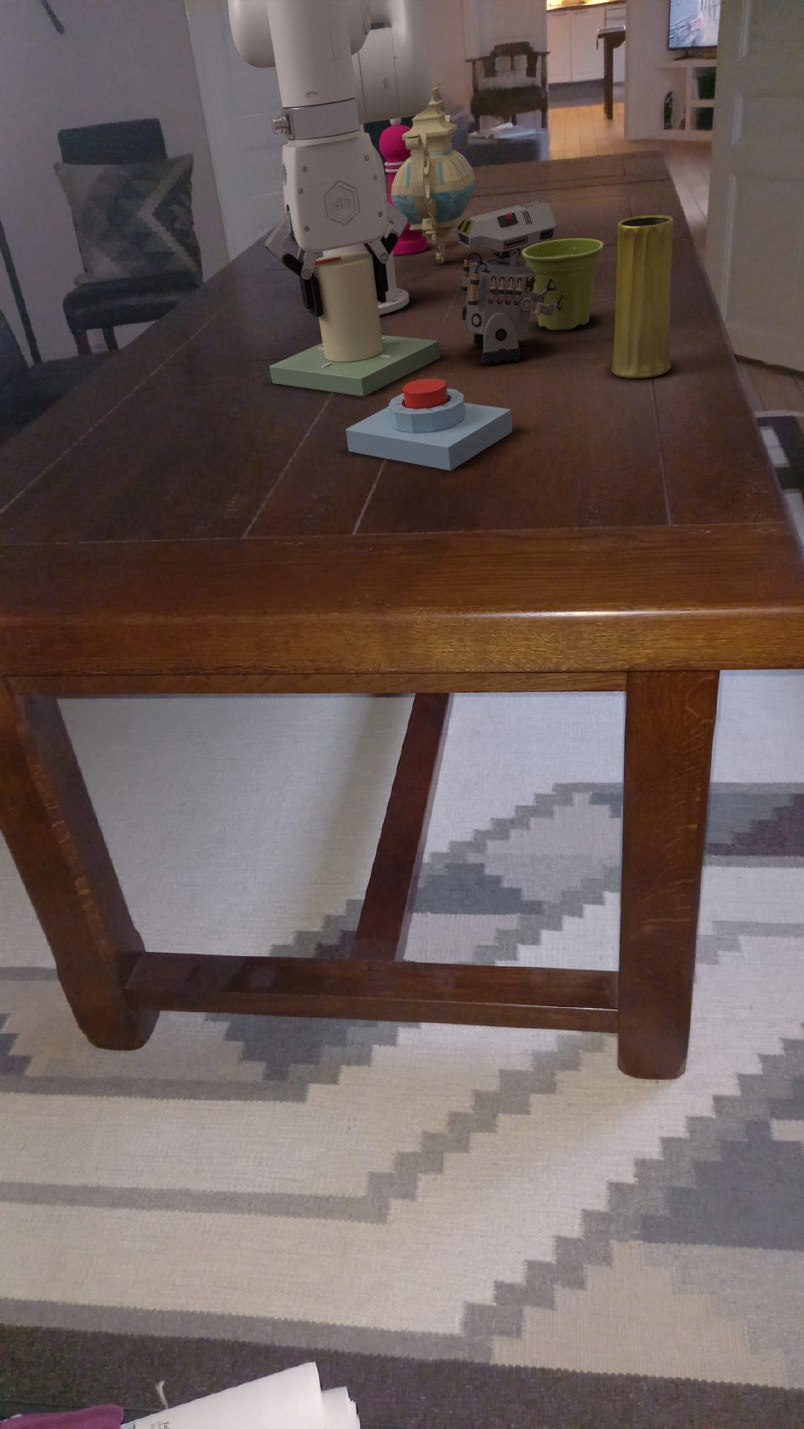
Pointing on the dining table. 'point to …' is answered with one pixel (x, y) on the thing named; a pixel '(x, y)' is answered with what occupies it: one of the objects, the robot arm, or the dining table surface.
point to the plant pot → (565, 278)
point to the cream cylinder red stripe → (348, 307)
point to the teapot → (433, 177)
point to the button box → (430, 432)
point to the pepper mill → (395, 156)
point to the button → (425, 393)
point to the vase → (643, 297)
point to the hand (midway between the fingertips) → (347, 306)
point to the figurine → (504, 277)
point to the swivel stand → (355, 367)
